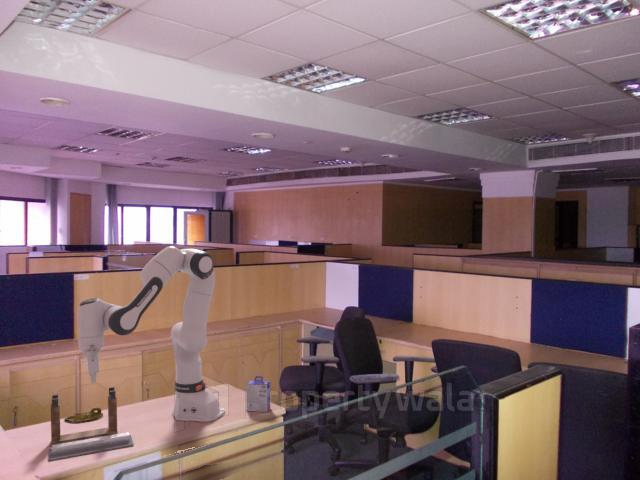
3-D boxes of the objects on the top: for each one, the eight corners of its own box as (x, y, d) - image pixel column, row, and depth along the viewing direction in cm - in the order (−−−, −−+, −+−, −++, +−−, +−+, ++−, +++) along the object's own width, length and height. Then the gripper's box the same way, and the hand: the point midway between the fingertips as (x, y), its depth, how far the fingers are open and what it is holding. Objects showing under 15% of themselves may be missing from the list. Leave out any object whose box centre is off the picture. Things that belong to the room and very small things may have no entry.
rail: (128, 438, 198) (128, 432, 198) (129, 441, 195) (129, 434, 195) (52, 451, 187) (52, 445, 187) (52, 455, 184) (51, 448, 184)
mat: (130, 435, 202) (130, 434, 202) (133, 445, 193) (133, 444, 193) (49, 450, 189) (49, 448, 189) (48, 461, 180) (48, 459, 180)
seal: (63, 428, 213) (103, 422, 219) (63, 417, 212) (102, 411, 218) (65, 418, 222) (103, 412, 227) (64, 407, 221) (102, 402, 227)
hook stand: (116, 429, 208) (115, 386, 207) (117, 435, 202) (116, 390, 202) (51, 440, 198) (50, 395, 197) (51, 446, 192) (50, 400, 192)
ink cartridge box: (271, 408, 231) (270, 375, 231) (267, 412, 226) (267, 379, 225) (249, 406, 233) (249, 375, 232) (246, 411, 228) (245, 378, 227)
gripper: (102, 347, 185) (103, 385, 186) (98, 336, 204) (100, 371, 204) (83, 349, 182) (84, 388, 183) (81, 338, 201) (82, 373, 201)
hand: (92, 379), depth 194 cm, fingers open, 8 cm apart
